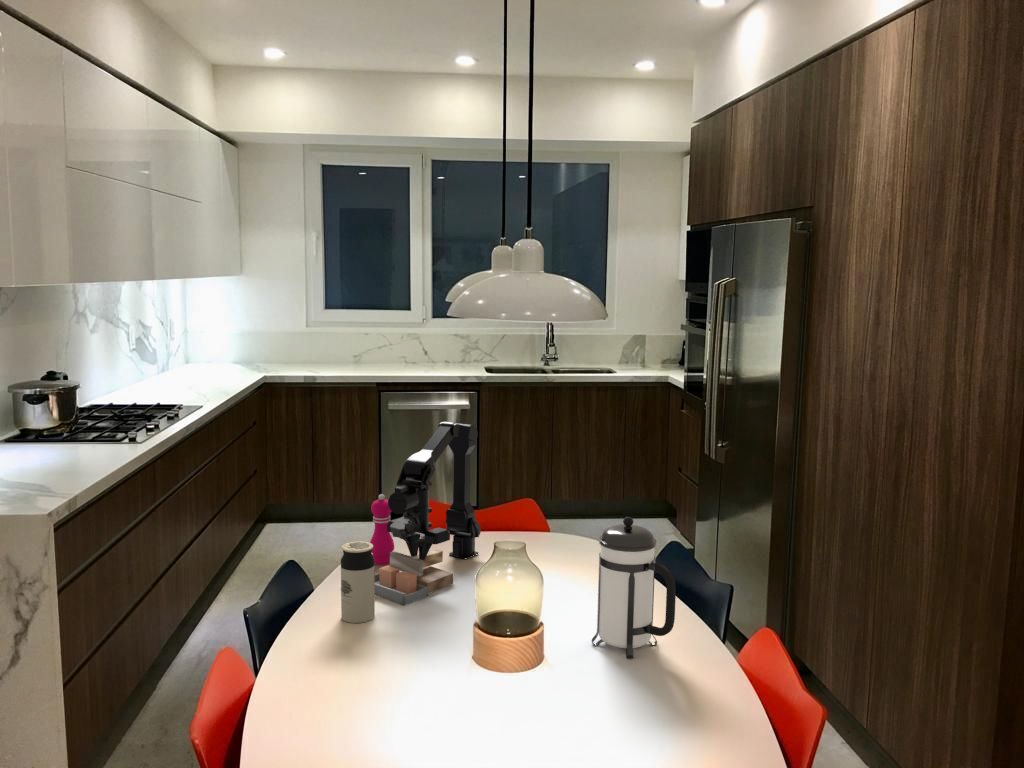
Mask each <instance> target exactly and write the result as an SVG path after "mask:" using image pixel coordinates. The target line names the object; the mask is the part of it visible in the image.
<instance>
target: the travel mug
mask: <svg viewBox="0 0 1024 768" xmlns="http://www.w3.org/2000/svg"><path fill="white" fill-rule="evenodd" d="M372 548H373V545H372V544H371V543H370V541H350V542H347V543H344V544H343V545H341V549H342V553H343V554H342V556H341V558H340V597H341V598H340V601H341V602H340V603H341V604H340V605H341V606H340V607H341V609H340V612H341V614H340V615H341V617H340V618H341V619H342V620H343V621H345V622H347V623H351V624H361V623H362V624H363V623H366V621H367V622H368V621H371V620H373V619H374V617H376V616H375V615H376V613H375V612H376V610H375V606H376V605H375V603H376V602H375V597H376V596H375V585H374V574H375V564H374V557H373V555H372V553H371V552H372Z"/></svg>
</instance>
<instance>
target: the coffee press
mask: <svg viewBox="0 0 1024 768" xmlns="http://www.w3.org/2000/svg"><path fill="white" fill-rule="evenodd" d="M634 522H635V521H634V520H633V518H632V517H630V516H625V517H624V518H623V521H622V524H613V525H610V526H608V527H607V528H605V529H604V530H602V533H601V535H599V537H598V544H599V546H600V549H599V550H600V552H599V553H598V556H599V557H598V583H597V585H598V586H597V587H598V588H597V591H598V592H597V619H596V620H597V621H596V633H595V634H594V636H593V637H592V639H591V644H592V646H593V647H598V646H599V645H601V644H602V643H603V642H604V643H605V644H607V645H609V646H611V647H615V648H620V649H625V655H626V656H625V657H626V659H633V658H634V649H636V648H640V647H643V646H645V645H646V644H650V646H652V643H655V646H656V645H658V640H657V639H656V637H655V636H657V637H658V636H659V637H661V636H662V637H663V636H666V635H668V634H670V633H671V632H672V630H673V629H674V626H675V625H674V624H675V619H676V597H677V596H676V595H677V594H676V592H677V591H676V589H677V588H676V580H675V578H674V576H673V574H672V573H673V572H671V571H670V570H669V569H668V568H667V567H666V565H663V564H660V563H656V556H655V549H656V547H657V539H656V538H655V536H654V534H653V532H652V531H651V530H649V528H646V527H645V526H644V527H643V526H642V525H637V524H634ZM655 573H656V574H657V573H658V574H659V575H661V577H663V579H664V581H665V585H666V592H665V593H666V596H665V597H666V598H665V599H666V600H665V620H664V621H665V622H664V625H663V626H662V627H658V626H655V625H653V624H654V623H653V622H654V603H655V602H654V597H655V596H654V595H655ZM598 636H599V638H600V639H599V640H598V641H597V642H596V646H595V644H594V643H595V640H596V639H597V637H598ZM651 638H653V639H654V640H655V641H654V642H651V641H650V640H651Z"/></svg>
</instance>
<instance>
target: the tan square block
mask: <svg viewBox="0 0 1024 768" xmlns="http://www.w3.org/2000/svg"><path fill="white" fill-rule="evenodd" d="M378 573H379V584H380V585H382V586H385V587H388V588H394V587H396V574H397V573H399V569H398V568H394V567H391V566H390V565H389V564H386V565H384V566H382V567H379V570H378Z"/></svg>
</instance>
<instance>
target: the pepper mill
mask: <svg viewBox="0 0 1024 768" xmlns="http://www.w3.org/2000/svg"><path fill="white" fill-rule="evenodd" d="M388 500H389V499H386V496H385V494H383V493H380V494H379V495H378V499H376V500H374V501H373V502H372V503H371V508H370V511H371V513H372V514H373V516H372V522H373V523H374V531H373V534H372V536H371V539H370V541H369V543H371V544H372V545H373V548H372V552H371V553H372V555H373V557H374V565H376V564H377V566H383V565H384V566H386V565H390V553H391V552H394V551H395V542H394V539H393V536H392V535H391V532H388V531H387V524H388V522H389V521H391V513H393V512H392V511H391V510H390V508H389V505H388Z"/></svg>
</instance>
